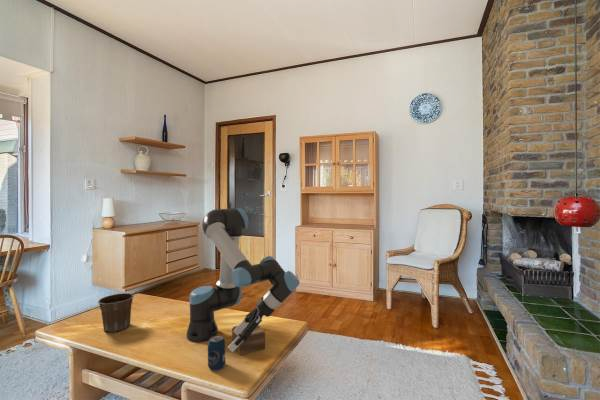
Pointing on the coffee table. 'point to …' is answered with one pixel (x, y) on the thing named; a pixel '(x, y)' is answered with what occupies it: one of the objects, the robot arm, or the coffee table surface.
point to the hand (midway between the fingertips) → (232, 340)
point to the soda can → (216, 352)
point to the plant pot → (116, 311)
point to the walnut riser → (251, 341)
